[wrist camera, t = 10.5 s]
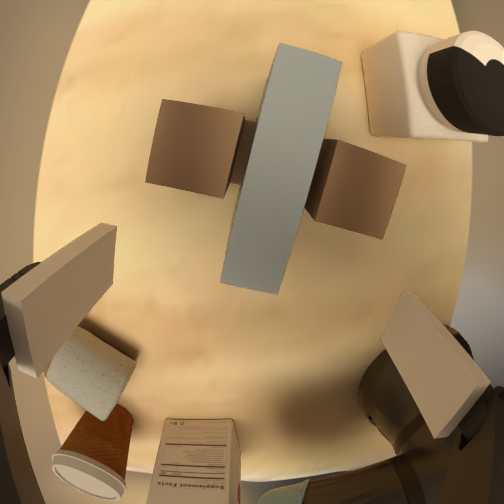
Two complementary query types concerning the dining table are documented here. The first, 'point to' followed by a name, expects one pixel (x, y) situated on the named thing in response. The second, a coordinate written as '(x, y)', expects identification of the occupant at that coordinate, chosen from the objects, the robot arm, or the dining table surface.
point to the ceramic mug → (90, 372)
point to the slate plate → (279, 167)
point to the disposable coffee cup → (96, 455)
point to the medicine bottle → (435, 86)
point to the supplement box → (197, 463)
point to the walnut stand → (236, 155)
